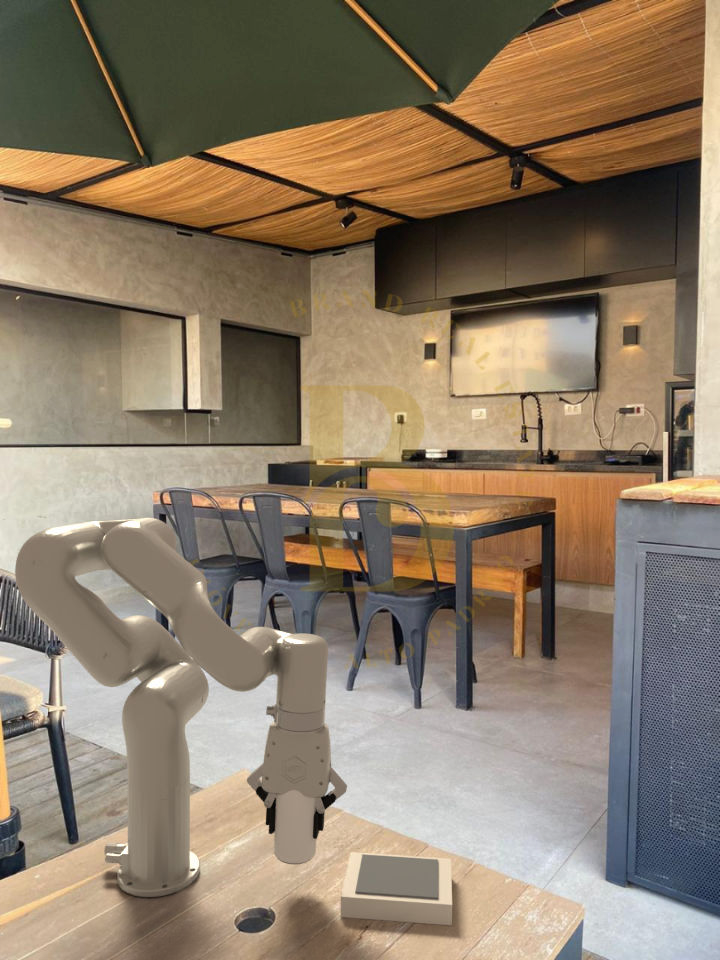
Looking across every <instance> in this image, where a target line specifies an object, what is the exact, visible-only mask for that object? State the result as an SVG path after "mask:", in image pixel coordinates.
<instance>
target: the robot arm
mask: <svg viewBox="0 0 720 960" xmlns="http://www.w3.org/2000/svg"><path fill="white" fill-rule="evenodd" d="M176 548H177V539H176V536H175V533H174V532H173V530H172V527H170V526H169V525H168V524H166V522H165V521H162V520H160V519H158V518H153V517H144V518H143V517H142V518H134V519H132V518H131V519H117V520H116V519H114V520H99V521H98V520H97V521H86V522H79V523H78V522H77V523H74V524H68V525H67V524H66V525H60V526H55V527H51V528H46V529H43V530H41V531H38V532H37V533H35V534H33V535H31V536H30V537H29V538H28V539H27V540H26V541H25V542H24V543H23V544H22V546H21V547H20V549H19V551H18V552H17V553H18V554H17V556H16V560H15V569H14V572H15V573H14V575H15V581H16V586H17V588H18V592H19V595H20V596H21V598H22V599H23V602H24V603H26V605H27V606H28V608H29V609H30V610H31V611H32V612H33V613H34V614H35V615H36V616H37V617H38V618H39V619H40V620H41V621H42V622H44V624H45V625H46V626H47V627H48V628H49V629H50V630H51V631H52V632H53V633H54V634H55V635H56V637H57V638H58V639H59V640H60V642H61V643H62V644H63V645H64V647H65V648H66V649H67V650H68V651H69V652H70V653H71V654H72V656H73V657H74V658H75V659H76V660H77V661H78V663H80V664H81V666H82V667H83V668H84V669H85V670H86V671H87V673H88V674H89V675H90V676H91V677H92V678H93V679H94V680H95V681H96V682H98V683H99V684H100V685H102V686H103V687H108V688H116V687H119V686H122V685H125V684H126V683H128V682H130V681H132V680H133V679H135V678H137V679H138V680H139V681H140V683H139V684H138V685H136V686H135V687H134V688H133V690H131V692H130V693H129V695H128V696H127V697H126V699H125V701H124V703H123V706H122V707H123V708H122V712H121V725H122V730H123V736H124V740H125V748H126V749H125V750H126V765H127V766H126V768H127V769H126V770H127V772H126V773H127V775H126V776H127V778H126V779H127V781H126V782H127V841H126V842H125V843H119V842H111V841H107V843H106V844H105V845H104V851H103V852H104V855H105V857H104V862H105V863H108V864H119V868H118V870H117V874H116V875H117V877H116V878H117V885H118V886H119V887H120V889H121V890H122V891H124V892H125V893H127V894H129V895H132V896H136V897H141V898H157V897H164V896H167V895H171V894H174V893H176V892H180V891H181V890H183V889H185V888H186V887H188V886H190V885H191V884H192V883H193V882H194V881H195V880H196V879H197V877H198V875H199V873H200V869H201V862H200V859H199V857H198V855H196V854H195V853H194V852H192V851H191V850H190V848H191V839H190V838H191V824H190V823H191V817H190V816H191V810H190V809H191V808H190V807H191V803H190V802H191V789H190V787H191V761H190V751H189V745H188V743H187V742H188V741H187V738H186V725H187V724H188V723H189V722H190V721H191V720H192V719H193V718H194V717H195V716H196V715H197V714H198V712H200V711H201V710H202V709H203V708H204V706H205V704H206V703H207V700H208V696H209V692H210V688H209V687H210V685H209V682H208V678H207V676H206V675H205V673H207V675H209V676H210V677H211V678H213V679H214V680H215V681H216V682H218V683H219V684H221V685H222V686H223V687H225V688H227V689H229V690H231V691H235V692H241V693H244V692H245V693H246V692H250V691H252V690H255V689H256V688H258V687H259V686H260V685H262V684H263V682H265V680H266V679H267V678H269V677H271V676H274V675H275V676H276V678H277V679H276V697H275V698H276V700H275V701H276V702H275V704H274V705H271V706H270V705H268V706H266V711H265V714H266V715H267V716H270V717H273V719H274V720H273V721H272V722H271V723H270V724H269V727H268V731H267V735H266V740H265V747H264V755H263V762H262V763H261V764H260V765H259V766H258V767H257V768H256V769H255V770H254V771H252V772H251V773H250V774H249V775H248V776H247V778H246V783H247V784H248V785H249V786H250V787H251V788H252V789H253V790H254V791H255V794H256V795H257V796H258V798H259V799H260V800H261V801H262V803H263V805H264V807H265V808H266V810H265V812H266V813H265V826H268V834H269V835H273V834H275V812H276V795H277V794H279V795H282V794H285V793H287V792H288V791H291V790H296V791H299V792H300V793H301V794H303V795H304V796H305V797H309V798H315V806H316V812H315V814H314V821H313V839H316V840H317V839H318V837H319V836H318V835H319V833H320V832H323V831H324V826H325V813H326V812H325V811H326V810H327V809H328V808H329V807H331V806H332V805H333V804H334V803H335V802H336V801H337V800H338V799H340V798H341V797H342V796H343V795H344V794H345V793H346V792H347V790H348V785H347V783H346V782H345V781H344V780H343V779H342V778H341V776H339V774H338V773H337V772H336V771H335V770H334V768H333V767H332V751H331V750H332V749H331V748H332V746H331V738H330V737H331V736H330V735H331V734H330V729H329V725H328V723H326V722H325V719H326V717H325V715H326V700H327V698H326V695H327V676H328V661H329V660H328V657H329V646H328V642H327V641H326V640H325V639H324V637H322V636H320V635H317V634H313V633H305V632H304V633H290V632H287V631H281V630H279V629H275V628H272V627H267V626H256V627H255V626H254V627H251V628H249V629H247V630H245V631H244V632H243V633H242V634H239V633H237V632H236V631H235V630H234V629H233V628H232V627H230V626H229V625H228V624H227V623H226V622H225V621H224V620H223V619H222V618H221V617H220V616H219V614H218V613H217V612H216V611H215V609H214V608H213V606H212V603H211V602H210V599H209V595H208V584H207V583H208V582H207V579H206V576H205V575H204V574H203V573H202V572H201V571H200V570H198V568H196V567H195V566H194V565H193V564H191V562H190V561H188V560H186V558H184V557H183V556H182V555H180V554H179V553H178V552H177V551H176ZM106 570H107V571H108V570H111V571H112V572H113V573H114V574H116V575H117V576H118V577H119V578H120V579H121V580H123V581H124V582H125V583H126V584H127V585H129V587H131V588H132V589H133V590H134V591H136V592H137V593H138V594H139V595H140V596H141V597H142V598H144V599H145V600H146V601H147V602H148V603H150V604H151V606H153V607H154V608H155V609H156V610H158V611H159V612H160V613H161V614H162V615H163V616H164V617H165V618H166V619H167V621H168V622H169V625H170V628H171V630H172V632H173V634H174V635H175V637H174V636H173V635H172V634H171V633H170V632H169V631H168V630H167V629H166V628H165V627H164V626H163V625H162V624H161V623H160V622H158V621H157V620H156V619H153V618H151V617H149V616H146V615H141V614H135V615H130V616H126V617H124V618H119V617H118V616H117V615H116V614H115V613H114V612H113V611H112V610H111V609H110V608H109V607H108V606H107V605H106V604H105V602H104V601H103V599H101V598H100V597H99V596H98V595H97V594H96V593H94V592H93V591H91V590H90V589H88V588H87V587H85V586H84V585H82V584H81V583H79V581H78V580H77V579H76V577H78V576H81V575H85V574H88V573H92V572H97V571H106ZM175 638H176V639H177V640H178V641H177V640H176V639H175ZM260 779H261V780H260ZM330 783H331V784H332V786H333V787H334V789H332V790H331V791H329V790H328V789H329V785H330ZM328 791H329V792H328ZM327 792H328V793H327Z"/></svg>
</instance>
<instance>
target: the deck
mask: <svg viewBox="0 0 720 960" xmlns="http://www.w3.org/2000/svg"><path fill="white" fill-rule="evenodd" d="M452 891H453V890H452V858H447V857H446V858H442V857H431V856H430V857H429V856H418V855H417V856H416V855H400V854H399V855H398V854H387V853H386V854H384V853H372V852H355V851H350V854H349V859H348V862H347V866H346V872H345V876H344V881H343V885H342V890H341V895H340V918H350V919H363V920H377V921H387V922H388V921H389V922H402V923H403V922H404V923H415V924H427V925H439V926H441V925H442V926H453V892H452Z"/></svg>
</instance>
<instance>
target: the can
mask: <svg viewBox="0 0 720 960" xmlns="http://www.w3.org/2000/svg"><path fill="white" fill-rule="evenodd" d="M315 812H316V806H315V798H309V797H305V796H304V795H303V794H301V793H300V792H299V791H296V790H291V791H288V792H287V793H285V794H282V795H279V794H277V795H276V812H275V831H274V838H273V841H274V842H273V854H274V856H275V857H276V858H277V860H279V861H280V862H281V863H284V864H287V865H301V864H302V865H303V864H306V863H307V862H310V861H311V860H312V859H313V858H314V857H315V856H316V851H317V839H313V821H314V814H315Z"/></svg>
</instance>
